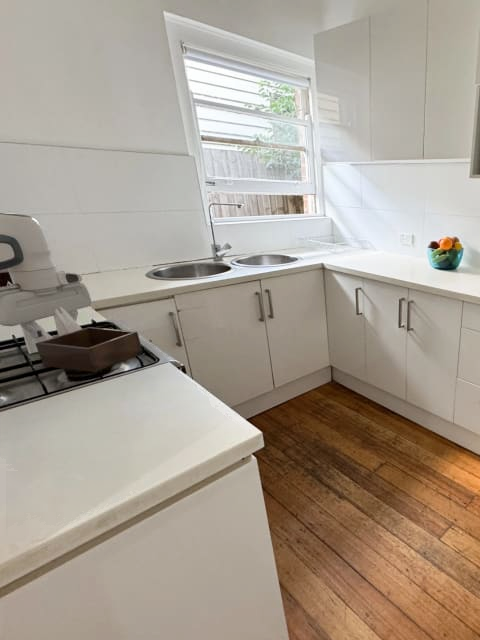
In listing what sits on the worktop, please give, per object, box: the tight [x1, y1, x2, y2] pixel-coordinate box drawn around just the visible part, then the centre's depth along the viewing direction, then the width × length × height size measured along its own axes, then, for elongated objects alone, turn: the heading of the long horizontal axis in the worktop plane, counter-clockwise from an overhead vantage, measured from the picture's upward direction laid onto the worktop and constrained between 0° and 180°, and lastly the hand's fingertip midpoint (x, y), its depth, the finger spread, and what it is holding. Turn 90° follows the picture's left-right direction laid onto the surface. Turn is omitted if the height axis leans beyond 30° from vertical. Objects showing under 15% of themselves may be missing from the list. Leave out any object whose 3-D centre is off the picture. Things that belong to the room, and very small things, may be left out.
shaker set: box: [20, 307, 83, 355], centre depth 100 cm, size 12×4×11 cm, turn 123°
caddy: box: [35, 326, 144, 373], centre depth 94 cm, size 13×16×6 cm
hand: (55, 332), depth 101 cm, fingers closed on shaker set, 7 cm apart
